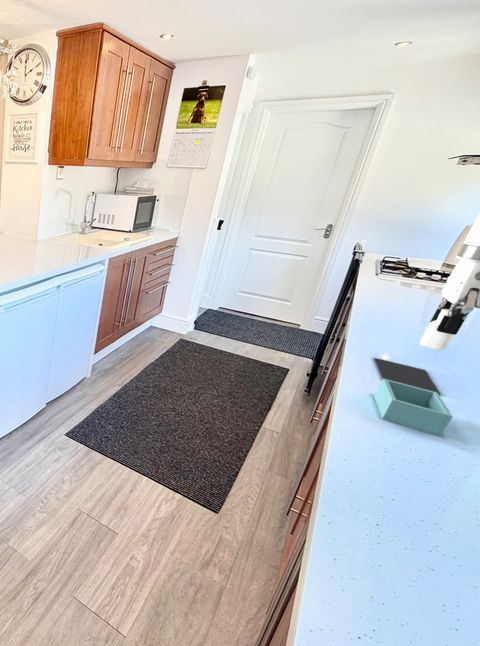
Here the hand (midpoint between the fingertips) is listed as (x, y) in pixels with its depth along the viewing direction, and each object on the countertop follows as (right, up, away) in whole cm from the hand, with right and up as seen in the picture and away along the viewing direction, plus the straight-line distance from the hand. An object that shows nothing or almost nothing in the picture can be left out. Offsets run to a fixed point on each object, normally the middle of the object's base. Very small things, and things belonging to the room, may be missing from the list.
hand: (442, 328), depth 96 cm
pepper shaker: (0, -5, +2) cm, 5 cm away
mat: (+11, -14, +18) cm, 26 cm away
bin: (-9, -21, 0) cm, 23 cm away
